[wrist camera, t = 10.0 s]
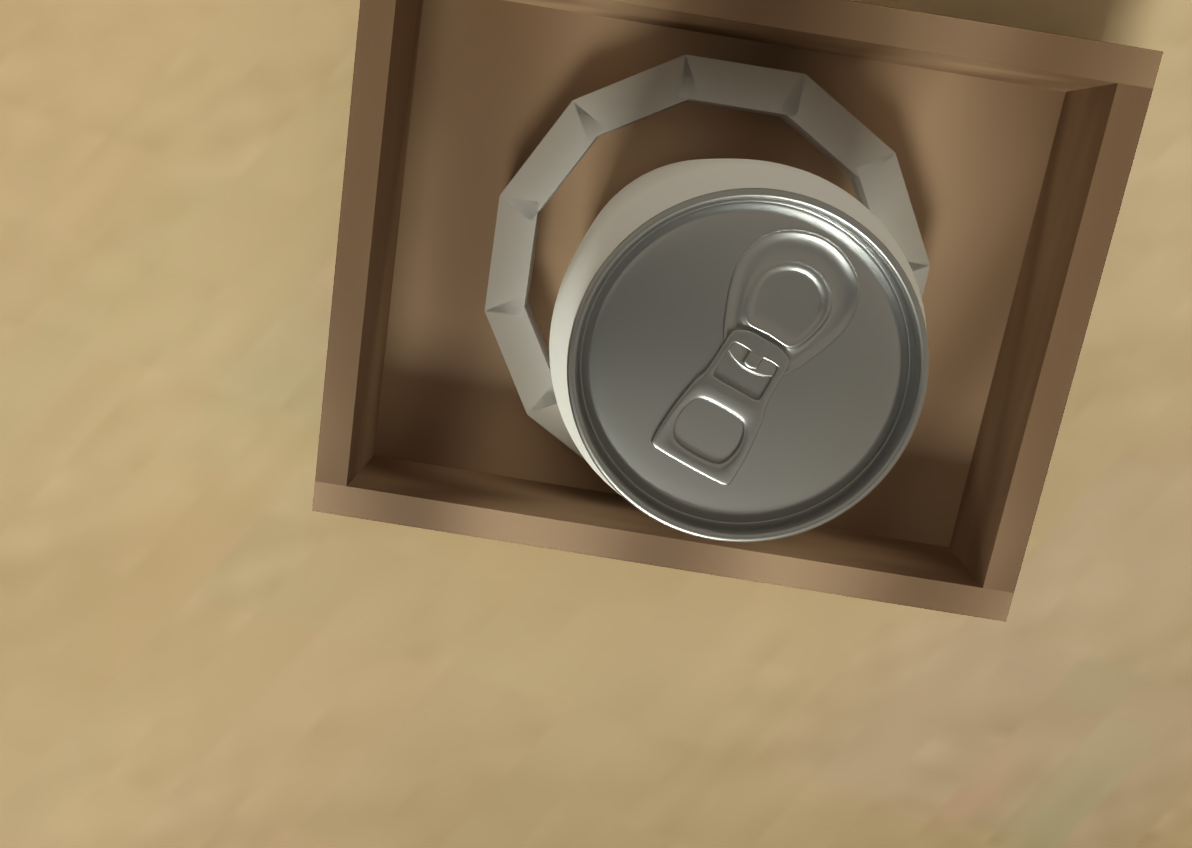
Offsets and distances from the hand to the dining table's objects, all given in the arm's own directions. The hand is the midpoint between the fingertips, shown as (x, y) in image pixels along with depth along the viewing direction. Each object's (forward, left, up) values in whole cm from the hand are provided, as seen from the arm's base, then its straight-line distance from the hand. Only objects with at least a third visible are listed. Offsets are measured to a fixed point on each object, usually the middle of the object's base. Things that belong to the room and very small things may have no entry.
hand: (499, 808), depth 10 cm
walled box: (+3, +3, -20) cm, 21 cm away
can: (+3, +3, -20) cm, 20 cm away
